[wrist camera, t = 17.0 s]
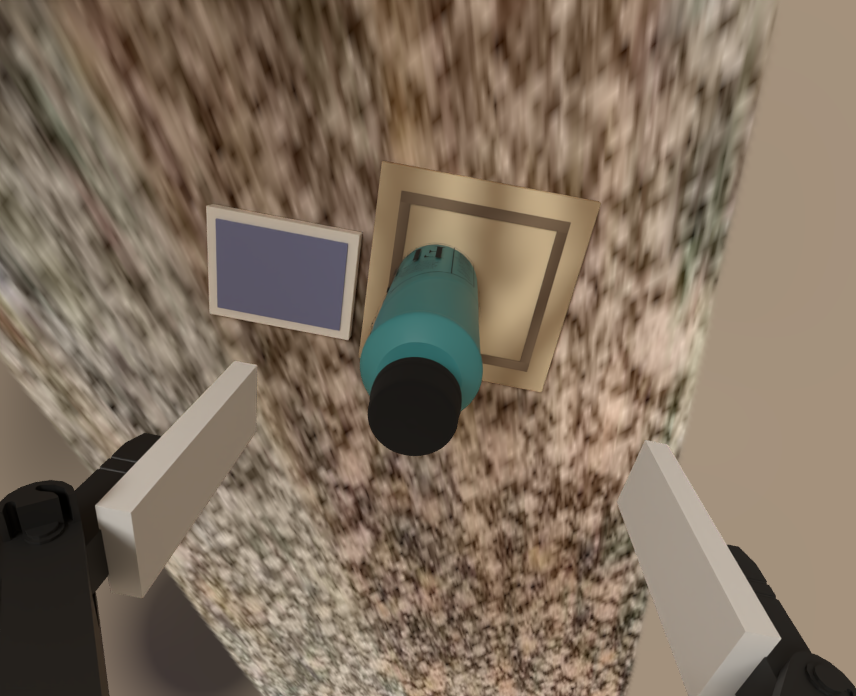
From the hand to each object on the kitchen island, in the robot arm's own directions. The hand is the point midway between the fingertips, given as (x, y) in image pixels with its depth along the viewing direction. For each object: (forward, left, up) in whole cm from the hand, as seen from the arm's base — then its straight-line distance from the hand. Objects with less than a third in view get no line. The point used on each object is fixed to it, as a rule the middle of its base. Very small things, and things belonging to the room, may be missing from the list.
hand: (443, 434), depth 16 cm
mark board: (+1, -2, -24) cm, 24 cm away
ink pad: (-14, -4, -24) cm, 28 cm away
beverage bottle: (-2, -2, -23) cm, 24 cm away
